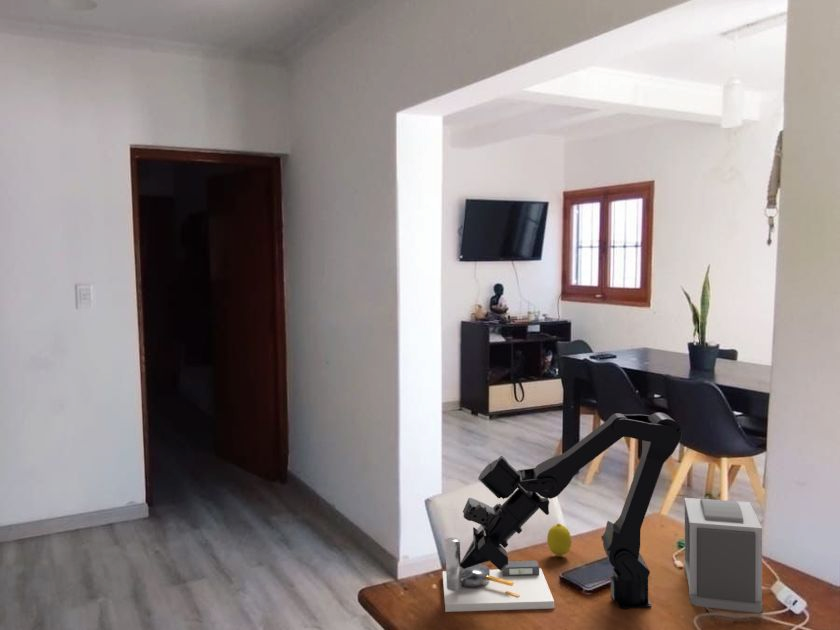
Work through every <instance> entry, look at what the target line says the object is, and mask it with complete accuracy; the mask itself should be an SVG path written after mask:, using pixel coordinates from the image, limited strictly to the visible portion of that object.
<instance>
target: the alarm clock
mask: <svg viewBox="0 0 840 630" xmlns="http://www.w3.org/2000/svg"><path fill="white" fill-rule="evenodd" d="M684 572H685V576H686V578H687V583H688V595H689V601H690V602H689V603H690V604H691V605H693V606H694V607H700V608H709V609H711V608H712V609H719V610H720V609H721V610H728V611H729V610H730V611H736V612H737V611H738V612H745V613H746V612H747V613H755V614H758V613H761V612H763V600H762V599H763V596H762V595H763V583H762V582H763V578H762V577H763V527H762V525H761V523H760V521H759V519H758V517H757V514H756V512H755V510H754V509H753V506H752V504H751V502H750V501H737V500H724V499H723V500H722V499H708V498H696V497H695V498H693V497H691V498H690V497H684Z"/></svg>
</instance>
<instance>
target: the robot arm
mask: <svg viewBox="0 0 840 630" xmlns="http://www.w3.org/2000/svg"><path fill="white" fill-rule="evenodd" d="M682 437H683V430H682V428H681V426H680V424H679V423H678V422H676V420H674V419H673V418H672V417H671V416H669V415H668V414H666V413H664V412H654V413H652V414H650V415H649V414H648V415H647V414H623V413H618V412H617V413H613V414H612V415H611V416H609V418H608V419H607V420H606V421H604V422H603V423H602V424H601V425H599V426H598V427H597V428H595V429H594V430H593V431H591V432H590V433H589V434H587V435H586V436H585V437H583V438H582V439H581V440H579V441H578V442H577V443H576V444H574V445H573V446H572V447H570V448H569V449H568V450H566V451H565V452H562V453H561V454H559V455H555V456H553V457H551V458H548V459H546V460H543V461H542V462H541V463H539V464H537V465H536V466H535V467H532V468H525V469H518V470H516V469H515V468H514V467H513V466H512V465H511V464H510V463H509V462H508V460H507V459H506V458H505V457H504V456H502V455H501V456H499V457H498V458H497V459H495V460H493V461H491V463H490V462H489V463H488V464H487V465H486V466H485V467H484V469H483V470H482V471H481V472H480V474H479V475H478V479H477V480H478V481H479V482H481V484H483V486H485V488H487V490H489V491H490V492H491V493H492V494H493V495H494V496H495V497H496V498H497V499H501V498H502V499H503V500H504V499H506V500H505V501H504V502H503V503H502V504H501V503H496V504H495V505H494V506H493V507H492V506H490V505H488V504H486V503H484V502H481V501H479V500H477V499H474V498H472V497H468V498H467V501H466V503H465V505H464V507H463V510H462V513H463V518H464V519H465V520H466V521H469V522H473V523H476V524H478V525H480V526H478V528H476V527H472V532H473V533H472V536H473V537H472V538H473V540H472V542H471V544H470V546H469V547H468V549H467V551H466V552H465V555H464V556H463V557H462V559H461V565H460V566H461V567H462V568H463V569H465V568H468V567H471V566H474V565H477V564H484V563H486V562H490V563H492V564H493V566H494V567H496V569H499V570H501V571H502V570H503V569H504V568H505V567H506V566H507V565H508V561H509V556H508V553H507V549H506V548H507V547H508V546H509V543H508V541H509V540H510V539H511V538H512V537H513V536H514V535H515V534H516V533H517V534H518V535H520V533H521V532H523V529H522V527H523V526H524V525H525V523H526V522H528V521H529V519H531V518H532V516H533V515H534V514H535V513H536V512H537V511H538V510H540V511H542V512H543V514H545V516H548V515H549V514H550V511H549V510H550V509H549V507H550V501H549V499H550V500H551V499H554V498H556V497H558V496H559V495H560V494H561V493H562V492H563V491H565V488H567V486H569V484H570V483H571V482H572V480H573V478H574V477H575V475H576V474H578V472H579V471H580V470H581V469H583V468H584V467H585V466H587V465H588V464H589V463H590V462H592V461H593V460H594V459H596V458H597V457H599V456H600V455H601V454H603V452H605V451H606V450H608V449H610V447H612V446H613V445H614V444H615V443H616V442H618V441H619V440H621V439H622V438H630V439H633V440H634V439H635V440H639V441H642V442H641V443H642V445H641V447H642V448H641V455H640V459H639V460H638V461H639V462H638V464H637V467H636V469H635V473H634V476H633V478H632V481H631V485H630V487H629V489H628V492H627V496H626V498H625V502H624V504H623V507H622V510H621V512H620V515H619V516H618V519H617V520H616V521H615V522H612V521H610V520H607V522H606V526H605V531H604V533H603V534H602V536H600V537H601V541H602V545H603V550H604V551H605V555H606V557H607V559H608V561H609V563H610V565H611V566H612V567H613V568H612V576H610V596H611V598H612V599H613V601H614V602H615V604H616V606H617V607H618V608H620V609H647V608H652V604H651V602H650V601H649V577H650V574H651V571H650V569H649V567H648V566H647V564H646V562H645V560H644V558H643V556H642V554H641V553H640V551H641V550H640V549H641V530H642V525H643V523H644V521H645V520H644V519H645V517H646V513H647V511H648V509H649V505H650V504H651V500H652V498H653V494H654V492H655V489H656V485H657V483H658V480H659V477H660V476H661V472H662V469H663V466H664V464H665V463H666V462H667V461H668V459H669V458H671V456H672V455H673V454H674V452H675V451H676V449H677V447H678V446H679V444H680V442H681V440H682Z"/></svg>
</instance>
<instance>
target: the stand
mask: <svg viewBox="0 0 840 630" xmlns="http://www.w3.org/2000/svg"><path fill="white" fill-rule="evenodd" d="M489 572H490V576H493V577H497V578H500V579H504V580H508V581H512V582H514V585H513V586H509V585H505V584H501V583H498V582H494V581H489V583H488V584H486V585H485V586H482V587H478V588H465V587H461V589H459V590H455V591H452V590H449V589H447V576H446V570H443V571H442V584H443V585H442V586H443V597H444V609H445V613H446V612H450V613H451V612H478V611H483V612H485V611H509V610H510V611H512V610H514V611H516V610H542V609H546V610H547V609H555V600H554V597H553V595H552V592H551V590H550V587H549V585H548V582H547V580H546V577H545V575H544V572H543V570H542V568H541V567H540V565H539V563H538V560H517V561H515V560H512V561H510V560H508V565H507V566H506V567H505V568H504V569H503V570H502V571H501V570H499V569H498V568H495V569H489Z"/></svg>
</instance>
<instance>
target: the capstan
mask: <svg viewBox="0 0 840 630" xmlns="http://www.w3.org/2000/svg"><path fill="white" fill-rule="evenodd" d="M444 540H445V542H444V543H445V569H446V570H445V571H446V576H447V589H449V590H452V591H455V590H459V589H461V587H465V588H478V587H482V586H485V585H486V584H488V583H489V581H494V582H498V583H501V584H505V585H509V586H513V585H514V582H512V581H508V580H504V579H500V578H497V577H493V576H490V572H489V570H490V568H489V567H488V566H487V565H485V564H484V563H480V564H477V565H474V566H471V567H468V568H465V569H463V568H462V567H461V566H460V565H461V561H462V559H461V539H460V538H458V537H446V539H444Z"/></svg>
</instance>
